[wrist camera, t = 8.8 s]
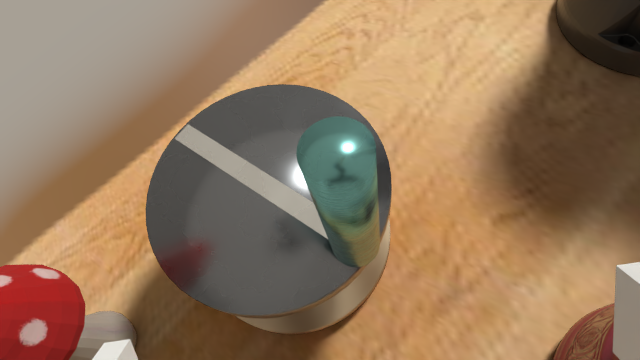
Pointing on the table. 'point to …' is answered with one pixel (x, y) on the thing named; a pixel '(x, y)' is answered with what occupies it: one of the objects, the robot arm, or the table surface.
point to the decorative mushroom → (52, 317)
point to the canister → (589, 337)
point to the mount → (331, 300)
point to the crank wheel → (269, 201)
